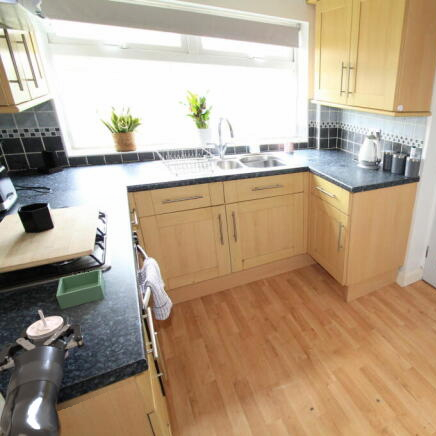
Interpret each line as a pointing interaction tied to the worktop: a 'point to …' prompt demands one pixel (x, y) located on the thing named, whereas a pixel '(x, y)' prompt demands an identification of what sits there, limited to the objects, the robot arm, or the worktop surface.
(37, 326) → the smoothie
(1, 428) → the robot arm
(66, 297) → the green open box
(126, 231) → the worktop surface
